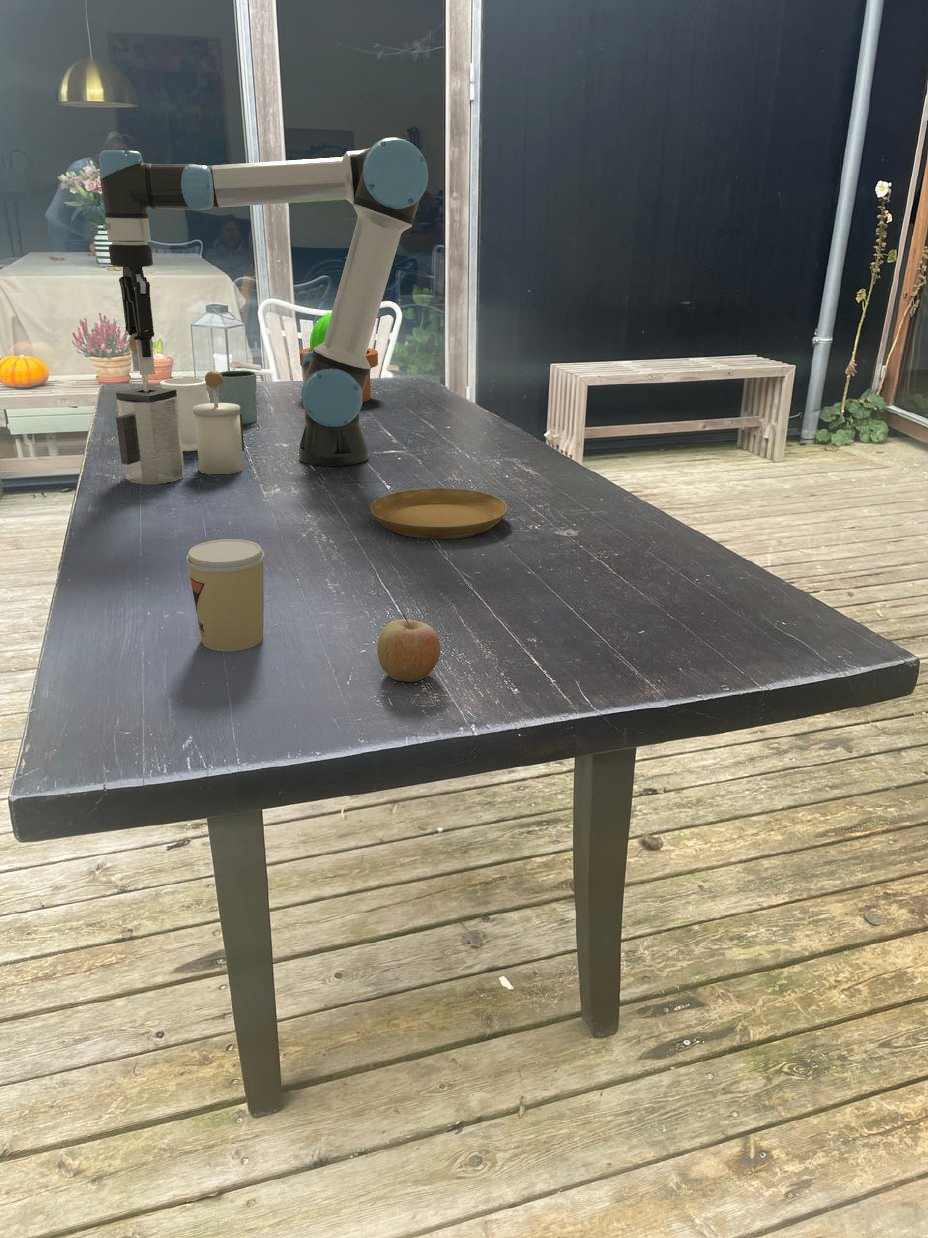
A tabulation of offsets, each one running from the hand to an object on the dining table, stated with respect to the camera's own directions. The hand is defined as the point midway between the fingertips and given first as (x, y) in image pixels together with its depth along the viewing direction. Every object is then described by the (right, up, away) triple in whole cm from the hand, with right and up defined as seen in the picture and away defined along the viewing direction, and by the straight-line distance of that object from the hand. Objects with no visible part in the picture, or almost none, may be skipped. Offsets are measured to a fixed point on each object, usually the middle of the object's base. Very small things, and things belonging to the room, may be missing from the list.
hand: (144, 371), depth 185 cm
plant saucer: (+58, -31, -16) cm, 68 cm away
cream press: (+12, -16, +16) cm, 26 cm away
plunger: (0, -12, +5) cm, 13 cm away
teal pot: (+4, +3, +61) cm, 61 cm away
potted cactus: (+26, +15, +90) cm, 95 cm away
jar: (0, -9, +32) cm, 33 cm away
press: (-1, -20, +7) cm, 21 cm away
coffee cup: (+33, -51, -63) cm, 87 cm away
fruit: (+56, -55, -72) cm, 106 cm away
